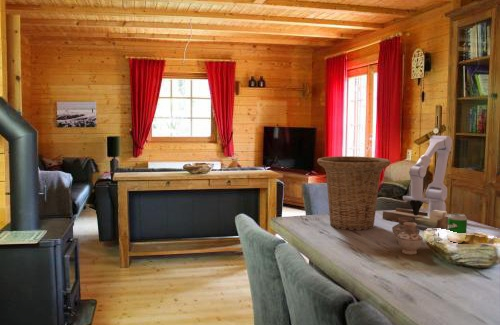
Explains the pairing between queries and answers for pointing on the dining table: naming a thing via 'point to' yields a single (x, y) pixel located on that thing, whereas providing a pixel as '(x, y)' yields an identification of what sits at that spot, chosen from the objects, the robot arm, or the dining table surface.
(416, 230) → the pottery
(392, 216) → the brown tray with rims
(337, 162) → the wicker basket
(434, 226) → the grey flat board
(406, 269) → the dining table surface
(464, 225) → the soda can
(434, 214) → the cream block
